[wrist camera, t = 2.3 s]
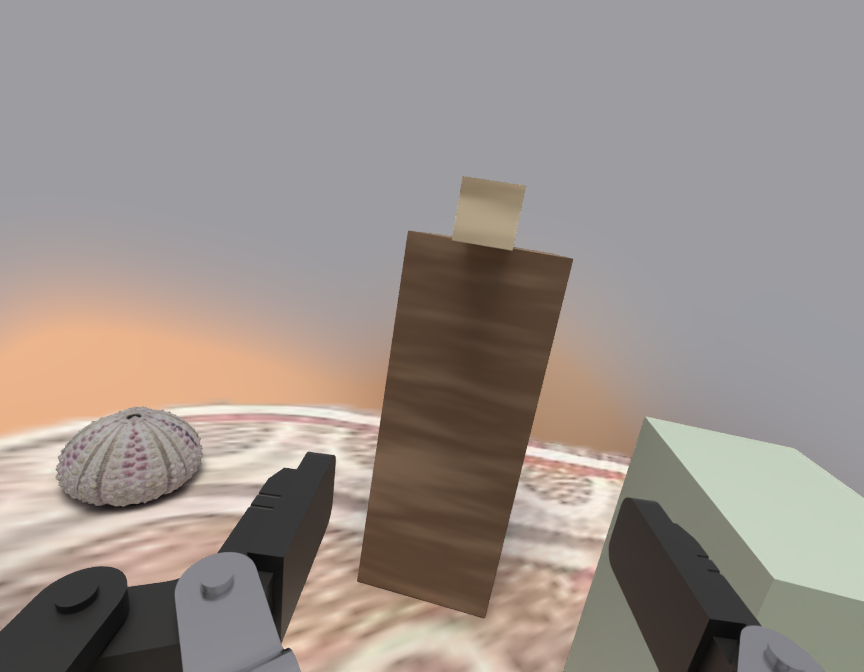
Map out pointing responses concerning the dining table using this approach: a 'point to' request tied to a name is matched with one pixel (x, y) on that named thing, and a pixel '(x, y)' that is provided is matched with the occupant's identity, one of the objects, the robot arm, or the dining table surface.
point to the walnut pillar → (457, 415)
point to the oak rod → (488, 213)
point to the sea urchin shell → (129, 458)
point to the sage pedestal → (741, 545)
